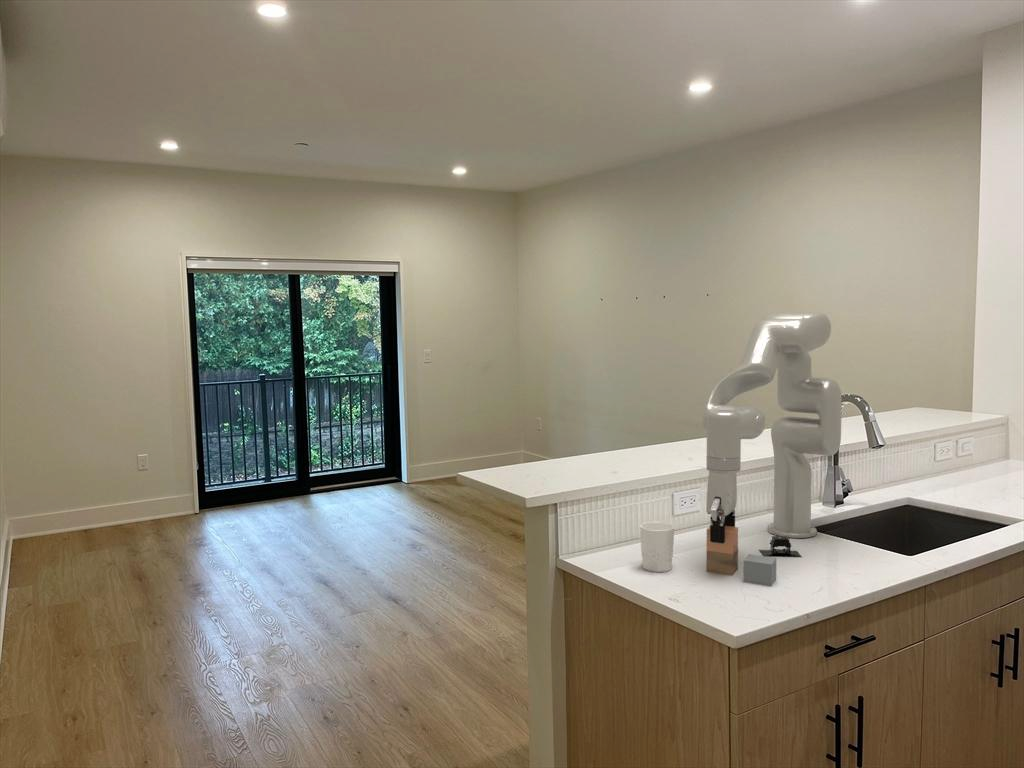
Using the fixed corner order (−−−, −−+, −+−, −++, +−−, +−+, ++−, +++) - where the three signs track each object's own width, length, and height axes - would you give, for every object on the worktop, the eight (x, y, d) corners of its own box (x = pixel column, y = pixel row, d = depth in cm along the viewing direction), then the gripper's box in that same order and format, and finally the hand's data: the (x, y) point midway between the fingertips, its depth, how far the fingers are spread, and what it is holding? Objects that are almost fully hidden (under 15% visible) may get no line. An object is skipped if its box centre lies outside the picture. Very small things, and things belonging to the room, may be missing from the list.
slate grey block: (748, 575, 168) (748, 554, 168) (776, 579, 165) (776, 558, 165) (743, 582, 164) (743, 560, 163) (771, 586, 161) (771, 564, 160)
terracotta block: (712, 544, 175) (712, 524, 174) (737, 548, 172) (738, 527, 171) (706, 550, 170) (706, 529, 170) (732, 554, 167) (733, 532, 167)
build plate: (802, 551, 186) (802, 534, 186) (810, 561, 179) (810, 542, 178) (751, 550, 188) (751, 533, 187) (757, 560, 180) (757, 541, 180)
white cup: (669, 561, 178) (669, 521, 177) (677, 572, 170) (678, 530, 169) (637, 562, 178) (637, 522, 177) (644, 573, 170) (644, 531, 169)
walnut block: (712, 565, 175) (712, 544, 175) (738, 569, 172) (738, 548, 172) (706, 571, 171) (706, 550, 170) (732, 575, 168) (732, 554, 167)
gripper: (716, 456, 179) (716, 525, 180) (696, 469, 164) (696, 544, 165) (748, 458, 175) (747, 529, 176) (731, 472, 160) (730, 549, 161)
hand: (722, 536), depth 171 cm, fingers open, 9 cm apart
